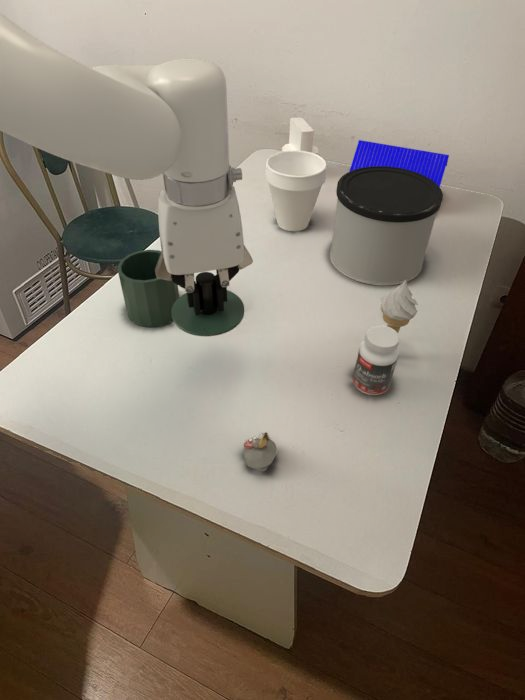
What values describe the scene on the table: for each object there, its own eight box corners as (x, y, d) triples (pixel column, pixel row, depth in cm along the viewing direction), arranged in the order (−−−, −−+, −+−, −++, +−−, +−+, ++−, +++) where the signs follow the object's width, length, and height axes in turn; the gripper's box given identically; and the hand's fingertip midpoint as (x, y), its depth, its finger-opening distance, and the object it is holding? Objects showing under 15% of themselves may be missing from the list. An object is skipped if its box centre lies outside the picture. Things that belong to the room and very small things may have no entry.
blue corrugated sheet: (431, 216, 115) (445, 166, 107) (345, 199, 121) (352, 150, 112) (439, 192, 123) (452, 144, 115) (358, 177, 129) (365, 130, 120)
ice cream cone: (365, 361, 82) (381, 286, 72) (373, 339, 86) (390, 265, 76) (400, 371, 81) (422, 295, 70) (407, 348, 85) (428, 273, 74)
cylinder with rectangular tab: (321, 178, 128) (326, 129, 120) (287, 182, 126) (289, 133, 118) (309, 163, 134) (313, 115, 126) (276, 167, 132) (278, 119, 124)
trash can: (130, 331, 87) (119, 286, 80) (125, 298, 93) (115, 254, 86) (184, 322, 89) (178, 277, 82) (176, 290, 95) (170, 246, 88)
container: (321, 234, 109) (328, 166, 99) (407, 231, 111) (423, 163, 100) (338, 288, 96) (349, 216, 85) (436, 284, 97) (458, 212, 87)
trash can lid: (178, 345, 68) (172, 307, 64) (167, 299, 75) (161, 261, 71) (252, 332, 70) (252, 294, 66) (235, 288, 77) (233, 251, 73)
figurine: (268, 480, 67) (269, 453, 62) (236, 469, 68) (235, 442, 63) (281, 448, 70) (283, 421, 66) (251, 439, 71) (251, 411, 67)
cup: (276, 204, 118) (278, 146, 109) (327, 215, 115) (334, 155, 106) (256, 231, 110) (256, 170, 101) (311, 243, 107) (316, 181, 97)
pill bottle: (348, 390, 78) (357, 342, 71) (357, 365, 82) (366, 318, 75) (385, 401, 76) (398, 353, 69) (393, 375, 80) (406, 328, 73)
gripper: (256, 161, 63) (256, 282, 76) (122, 176, 60) (146, 300, 73) (274, 189, 58) (271, 314, 71) (128, 208, 55) (153, 334, 68)
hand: (207, 306), depth 72 cm, fingers closed on trash can lid, 2 cm apart
